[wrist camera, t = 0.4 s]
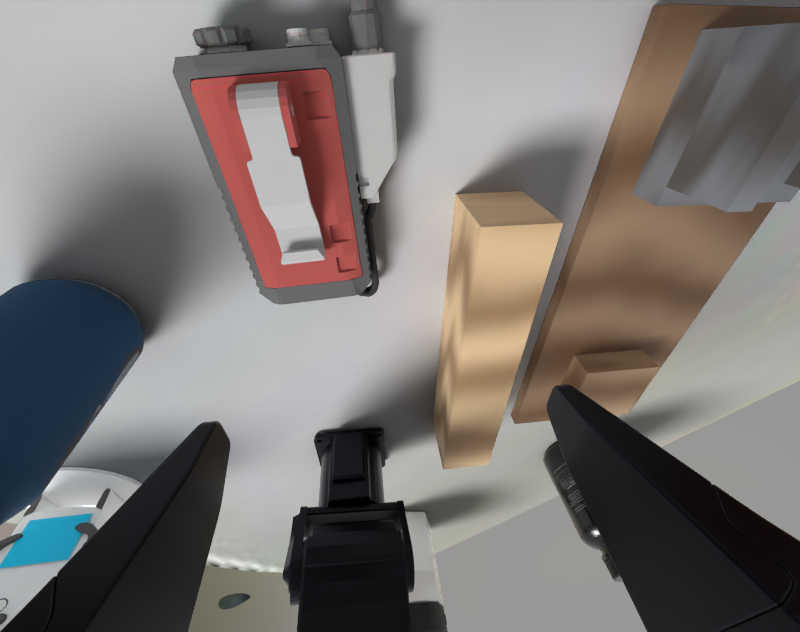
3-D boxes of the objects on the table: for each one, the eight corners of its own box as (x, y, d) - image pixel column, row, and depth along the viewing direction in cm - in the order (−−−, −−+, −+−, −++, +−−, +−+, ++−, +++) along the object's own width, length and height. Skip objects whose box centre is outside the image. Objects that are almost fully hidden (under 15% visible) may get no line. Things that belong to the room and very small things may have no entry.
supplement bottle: (545, 470, 42) (602, 591, 32) (537, 445, 38) (599, 574, 28) (601, 453, 41) (676, 573, 31) (598, 425, 37) (685, 553, 27)
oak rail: (471, 415, 33) (488, 464, 29) (432, 420, 33) (443, 469, 29) (520, 189, 20) (563, 223, 16) (454, 192, 19) (481, 227, 15)
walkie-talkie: (405, 278, 23) (369, -277, 10) (415, 318, 19) (378, -446, 7) (274, 294, 22) (71, -268, 10) (259, 337, 19) (-80, -443, 6)
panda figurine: (133, 461, 31) (0, 710, 19) (178, 514, 38) (101, 721, 26) (-15, 473, 29) (-257, 751, 18) (60, 526, 36) (-78, 750, 25)
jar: (395, 540, 50) (406, 652, 41) (355, 528, 46) (357, 651, 36) (442, 518, 47) (465, 633, 38) (404, 503, 43) (420, 629, 33)
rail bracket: (622, 404, 34) (670, 464, 29) (511, 415, 33) (540, 480, 28) (882, 12, 16) (1129, -8, 11) (652, 6, 15) (809, -19, 10)
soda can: (-4, 259, 18) (-376, 474, 9) (141, 278, 20) (-45, 475, 11) (43, 351, 22) (-179, 565, 13) (161, 360, 24) (39, 556, 15)
